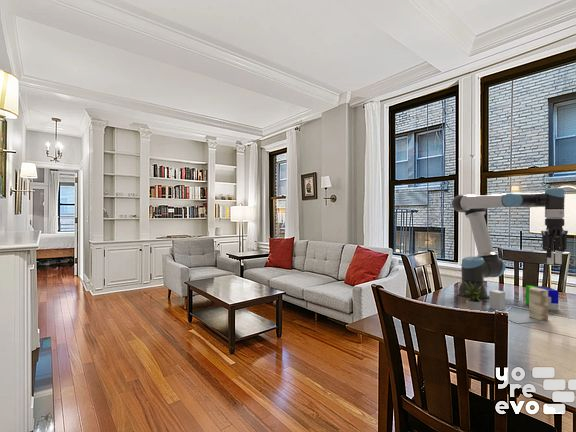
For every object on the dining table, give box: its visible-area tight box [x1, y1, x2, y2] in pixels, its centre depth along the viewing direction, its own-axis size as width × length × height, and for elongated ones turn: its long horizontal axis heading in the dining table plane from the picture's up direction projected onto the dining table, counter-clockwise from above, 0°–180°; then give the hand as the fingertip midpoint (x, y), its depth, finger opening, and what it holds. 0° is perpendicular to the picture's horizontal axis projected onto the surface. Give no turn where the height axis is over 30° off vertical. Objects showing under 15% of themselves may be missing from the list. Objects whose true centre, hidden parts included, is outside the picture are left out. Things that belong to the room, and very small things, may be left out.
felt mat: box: [508, 314, 541, 325], centre depth 145 cm, size 12×9×1 cm
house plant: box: [459, 281, 489, 312], centre depth 157 cm, size 14×14×16 cm
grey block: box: [488, 289, 506, 311], centre depth 162 cm, size 5×5×9 cm
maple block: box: [528, 288, 549, 321], centre depth 147 cm, size 5×5×14 cm
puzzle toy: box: [525, 285, 559, 311], centre depth 165 cm, size 10×10×10 cm
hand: (554, 263), depth 156 cm, fingers open, 4 cm apart
